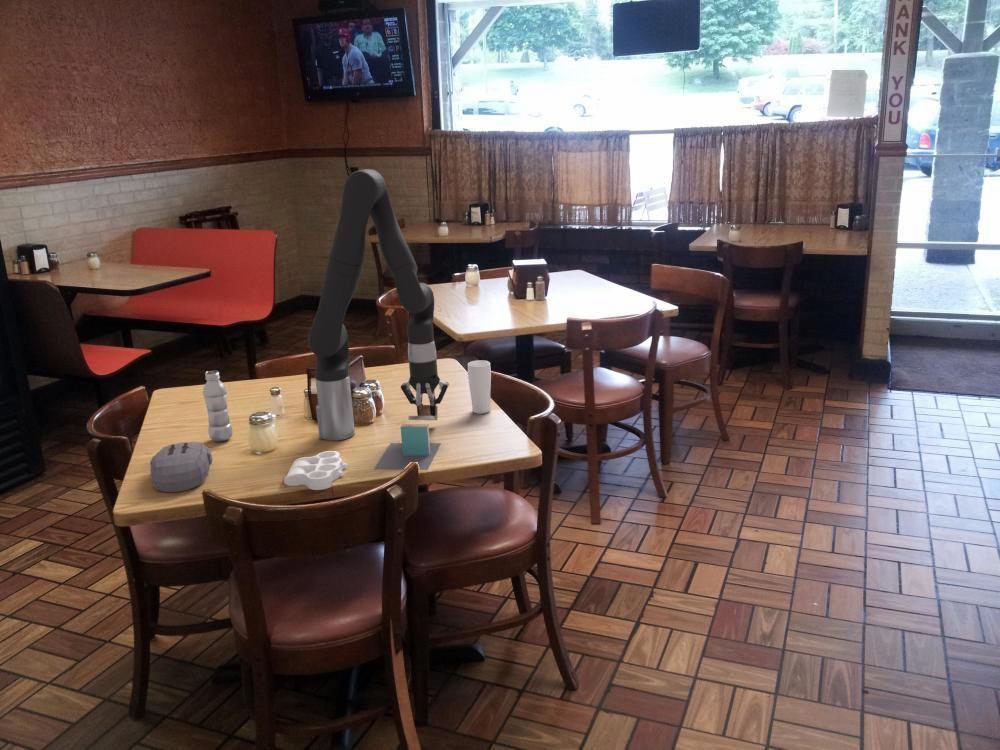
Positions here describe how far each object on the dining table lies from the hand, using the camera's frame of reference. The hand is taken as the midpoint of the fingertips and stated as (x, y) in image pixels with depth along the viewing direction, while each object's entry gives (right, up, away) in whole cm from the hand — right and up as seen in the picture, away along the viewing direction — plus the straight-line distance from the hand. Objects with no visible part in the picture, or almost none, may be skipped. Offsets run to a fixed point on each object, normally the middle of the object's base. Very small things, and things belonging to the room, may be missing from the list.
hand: (427, 417), depth 245 cm
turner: (0, -1, -1) cm, 1 cm away
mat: (-4, -10, -13) cm, 17 cm away
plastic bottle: (-59, -7, +6) cm, 60 cm away
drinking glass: (+15, +1, +19) cm, 24 cm away
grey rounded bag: (-61, -15, -19) cm, 65 cm away
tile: (-2, -9, -11) cm, 14 cm away
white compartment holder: (-26, -14, -21) cm, 36 cm away
